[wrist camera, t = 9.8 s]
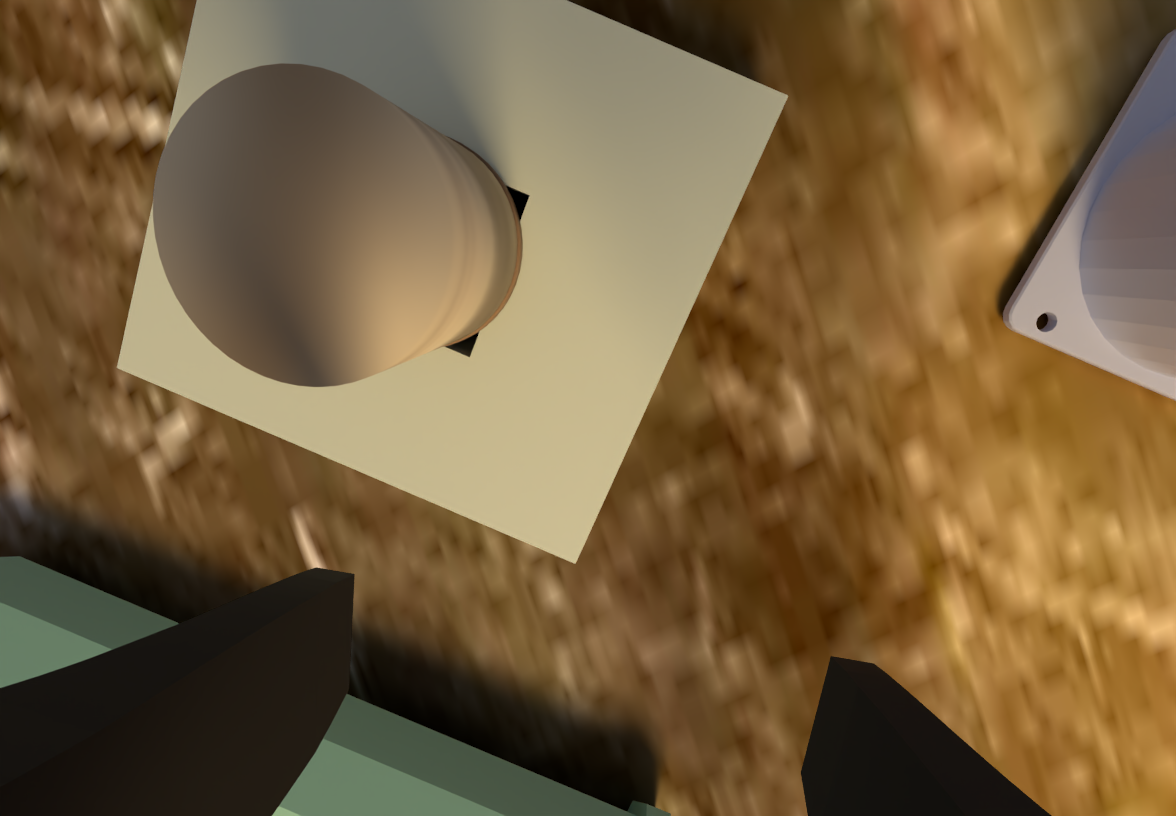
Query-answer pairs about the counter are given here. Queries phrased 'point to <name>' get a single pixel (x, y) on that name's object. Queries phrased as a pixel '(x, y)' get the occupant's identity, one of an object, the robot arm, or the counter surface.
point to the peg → (328, 227)
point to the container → (349, 748)
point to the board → (550, 245)
